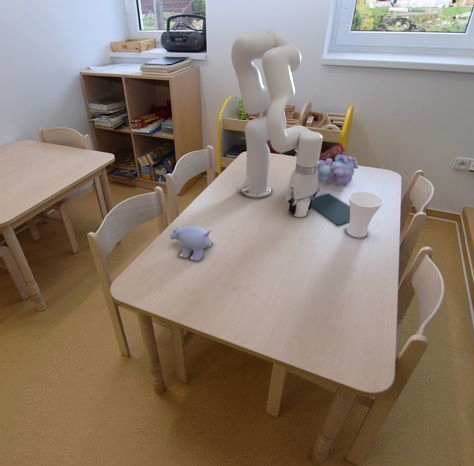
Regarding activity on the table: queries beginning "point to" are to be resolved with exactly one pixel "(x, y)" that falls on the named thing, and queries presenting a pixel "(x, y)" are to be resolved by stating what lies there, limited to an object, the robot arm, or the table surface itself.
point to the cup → (362, 212)
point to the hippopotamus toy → (192, 240)
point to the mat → (332, 209)
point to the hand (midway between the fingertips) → (299, 210)
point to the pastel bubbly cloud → (336, 166)
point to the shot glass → (302, 206)
